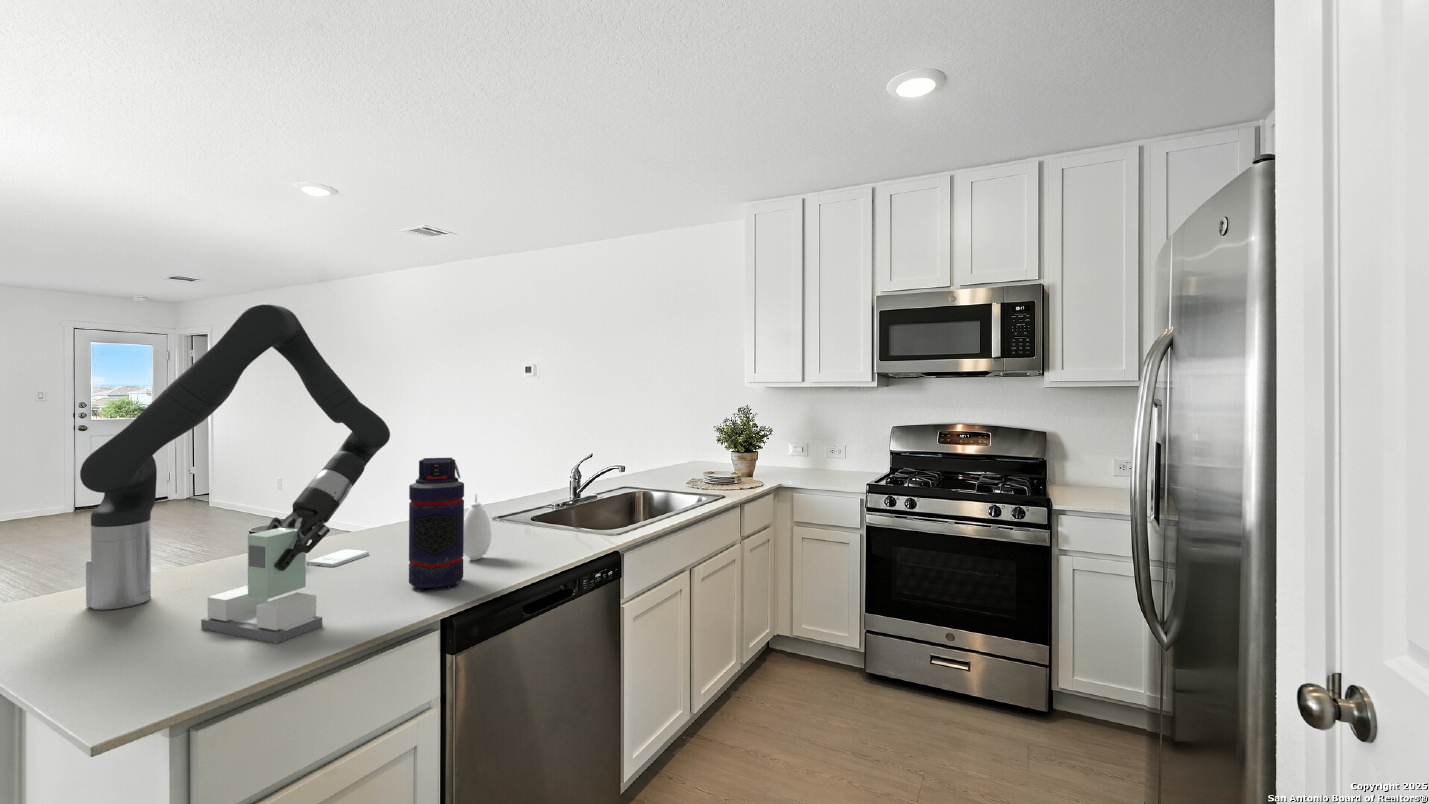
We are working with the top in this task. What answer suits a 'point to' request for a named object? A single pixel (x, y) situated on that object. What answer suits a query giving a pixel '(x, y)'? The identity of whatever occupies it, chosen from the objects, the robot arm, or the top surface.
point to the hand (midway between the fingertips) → (268, 566)
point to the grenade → (436, 525)
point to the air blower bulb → (476, 531)
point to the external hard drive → (338, 558)
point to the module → (263, 558)
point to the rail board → (261, 615)
